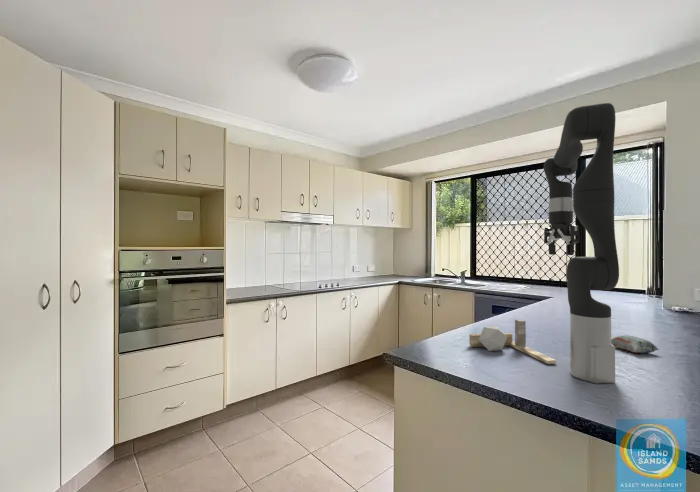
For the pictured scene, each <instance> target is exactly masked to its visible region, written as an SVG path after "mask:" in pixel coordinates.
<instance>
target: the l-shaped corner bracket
mask: <svg viewBox="0 0 700 492" xmlns="http://www.w3.org/2000/svg"><path fill="white" fill-rule="evenodd" d="M526 325H527V324H526V320H524V319H514V341H513V333H510V332H503V333H504V334H505V335H506V336H507V340H506V342H505V344H504V346H510V347H511V348H512V349H513V348H514V349H515V350H518V351H519V352H522V353H524V354H526V355H529V356H530V357H532V358H534V359H536V360H538V361H541V362H543V363H545V364H547V365H552V364H553V365H555V364H557V359H554V358H552V357H550V356H549V355H546V354H544V353H541V352H539V351H537V350H535V349H532V348H530V347H527V345H526V344H527V343H526V341H527V340H526V337H527V335H526V333H527V331H526V329H527V327H526ZM480 335H481V333H472V334H471V333H470V334H469V346H470V347H472V348H477V347H485V346H484V345H483V344H482V343H481V342H480V341H479V338H480Z"/></svg>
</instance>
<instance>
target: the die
mask: <svg viewBox="0 0 700 492" xmlns="http://www.w3.org/2000/svg"><path fill="white" fill-rule="evenodd" d="M504 333H505V332H503V331H502V330H501V329H500V328H499V327H498V326H484V327H483V328H482V331H481V333H480V334H481V335H480V338H479V341H480V342H481V343H482V344H483V345H484V346H483V347H484V348H485V349H486V350H487V351H488V352H494V351H495V352H497V351H498V352H499V351H502V350H503V348H504V347H505V345H504V344H505V342H506V340H507V336H506V335H505V334H504Z"/></svg>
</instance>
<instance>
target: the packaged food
mask: <svg viewBox="0 0 700 492" xmlns="http://www.w3.org/2000/svg"><path fill="white" fill-rule="evenodd" d="M611 345H612V346H614V347H615V348H618V349H620V350H623V351H627V352H630V353H637V354H649V353H654V352H656V351H659V350H660V349H659V348H658V347H657V345H656V344H654V343H653V342H651V341H649V340H647V339H644V338H640V337H637V336H634V335H627V334H626V335H625V334H623V335H618V336H615V337H612V338H611Z"/></svg>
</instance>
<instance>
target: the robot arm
mask: <svg viewBox="0 0 700 492" xmlns="http://www.w3.org/2000/svg"><path fill="white" fill-rule="evenodd" d="M615 109H616V108H615V107H614V105H613V104H612V103H611V102H606V103H605V102H604V103H603V102H602V103H597V104H588V105H582V106H577V107H573V108H572V109H570V110H569V111H568V113H567V115H566V118H565V119H564V124H563V128H562V131H561V135H560V136H561V137H560V142H559V145H558V148H557V150H556V152H555V153H554V156H553V157H552V156H551V157H548V158H547V159H546V160H545V161H544V163H543V171H544V172H543V173H544V175H545V176H546V181H547V184H548V189H549V190H548V191H549V202H548V224H550V225H551V227H544V229H543V230H544V232H543V233H544V235H543V236H544V237H543V243H544V244H547V245H548V255H550V256H551V255H552V256H553V255H556V251H557V250H556V249H557V248H556V244H557V242H558V241H559V240H560V239H562V240H563V241H565V243H566V255H567V256H574V254H575V244H578V243H580V242H581V241H580V240H581V239H580V226H579V225H576V224H575V225H572V224H573V223H574V214H575V216H576V218H577V219H578V221H579V223H580V224H581V225H582V226H583V227H584V229H585V230H586V232H587V233H588V235H589V237H590V239H591V242H592V245H593V246H592V247H593V252H594V253H593V255H594V256H574V257H571V259H569V260H568V263H567V265H566V266H567V267H566V285H567V286H566V287H567V300H568V305H569V321H570V322H569V332H570V333H569V345H570V346H569V347H570V348H569V350H570V351H569V357H570V358H569V359H570V360H569V361H570V362H569V363H570V367H569V369H570V374H571V376H573V377H575V378H576V379H579V380H583V381H585V382H590V383H593V384H607V383H609V384H611V383H616V347H615V346H613V345H612V344H611V339H612V308H611V306H610V305H608V304H606V303H603V302H600V301H598V300H596V299H594V298H593V297H592V294H591V291H610V290H613V289H614V288H616V287H617V285H618V282H619V279H620V266H619V265H620V264H619V257H618V256H619V255H618V251H617V244H616V243H617V242H616V231H615V180H614V150H615V149H614V146H615V136H616V135H615V134H616V110H615ZM590 140H591V141H592V140H596V147H595V151H594V153H593V156H592V158H591V159H590V161H589V163H588V164H587V165H586V167H585V168H584V170H583V171H582V172H581V173H580V175H579V177H578V178H577V180H576V181H575V183H574V185H572V183H571V182H569V181H563V180H559V179H558V178H557V177H563V176H564V177H565V176H567V177H568V176H571V175H573V174H575V173H576V171H577V170H578V165H579V164H578V159H579V158H580V157H581V156H582V153H583V151H584V145H583V142H581V141H590Z"/></svg>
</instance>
